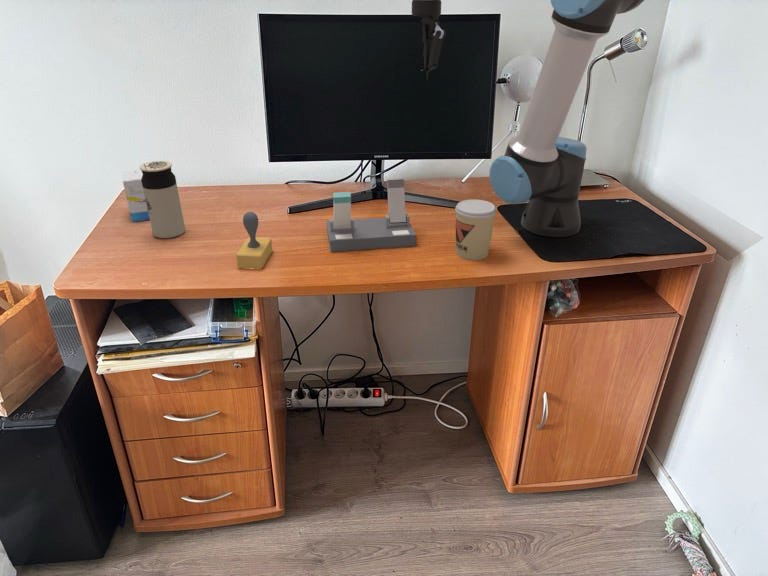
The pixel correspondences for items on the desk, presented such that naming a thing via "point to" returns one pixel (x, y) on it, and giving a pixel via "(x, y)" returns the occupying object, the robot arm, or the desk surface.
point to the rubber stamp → (253, 245)
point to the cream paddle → (342, 209)
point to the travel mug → (162, 199)
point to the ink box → (135, 195)
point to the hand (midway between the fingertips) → (423, 95)
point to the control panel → (370, 234)
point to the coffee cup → (474, 228)
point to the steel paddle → (396, 201)
